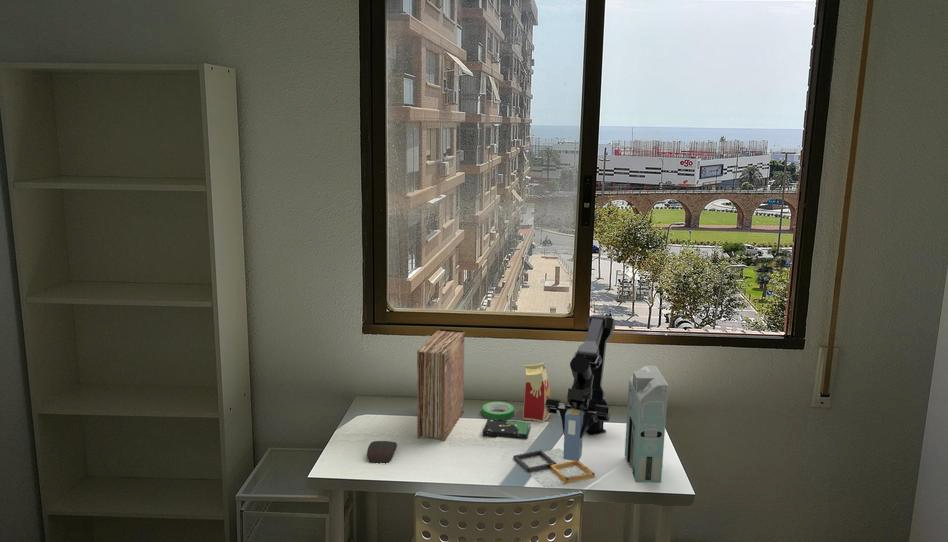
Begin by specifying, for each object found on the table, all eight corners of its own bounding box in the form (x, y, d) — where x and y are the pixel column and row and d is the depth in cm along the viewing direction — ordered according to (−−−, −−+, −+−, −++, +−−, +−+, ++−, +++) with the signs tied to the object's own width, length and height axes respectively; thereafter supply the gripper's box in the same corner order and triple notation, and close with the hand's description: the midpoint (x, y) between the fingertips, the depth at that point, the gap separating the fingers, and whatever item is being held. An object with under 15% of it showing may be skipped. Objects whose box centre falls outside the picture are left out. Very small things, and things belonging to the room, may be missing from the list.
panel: (559, 449, 247) (559, 445, 247) (596, 478, 228) (596, 474, 228) (511, 459, 240) (511, 454, 240) (545, 490, 221) (545, 485, 221)
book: (444, 441, 252) (444, 353, 245) (416, 438, 254) (416, 350, 247) (463, 412, 276) (464, 330, 269) (438, 409, 278) (439, 328, 271)
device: (624, 456, 243) (629, 365, 236) (649, 457, 243) (655, 365, 236) (634, 482, 227) (640, 384, 220) (661, 482, 227) (668, 385, 220)
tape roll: (509, 422, 268) (509, 415, 267) (478, 418, 271) (478, 411, 270) (517, 410, 278) (517, 403, 278) (487, 407, 281) (487, 400, 281)
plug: (566, 452, 233) (568, 407, 230) (581, 454, 231) (583, 409, 228) (562, 460, 228) (564, 414, 225) (577, 462, 226) (579, 416, 223)
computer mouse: (365, 463, 236) (364, 451, 236) (374, 444, 250) (374, 432, 249) (391, 465, 236) (391, 453, 235) (399, 445, 249) (399, 434, 248)
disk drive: (482, 438, 256) (527, 441, 253) (482, 430, 255) (527, 433, 253) (487, 426, 266) (530, 429, 263) (487, 418, 265) (530, 421, 263)
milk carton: (551, 413, 276) (553, 359, 271) (544, 423, 267) (546, 367, 263) (526, 409, 279) (527, 356, 274) (519, 419, 270) (520, 364, 266)
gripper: (547, 372, 231) (537, 421, 224) (610, 380, 225) (601, 430, 218) (553, 388, 240) (543, 435, 233) (613, 396, 234) (605, 445, 227)
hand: (572, 436), depth 227 cm, fingers closed on plug, 4 cm apart
